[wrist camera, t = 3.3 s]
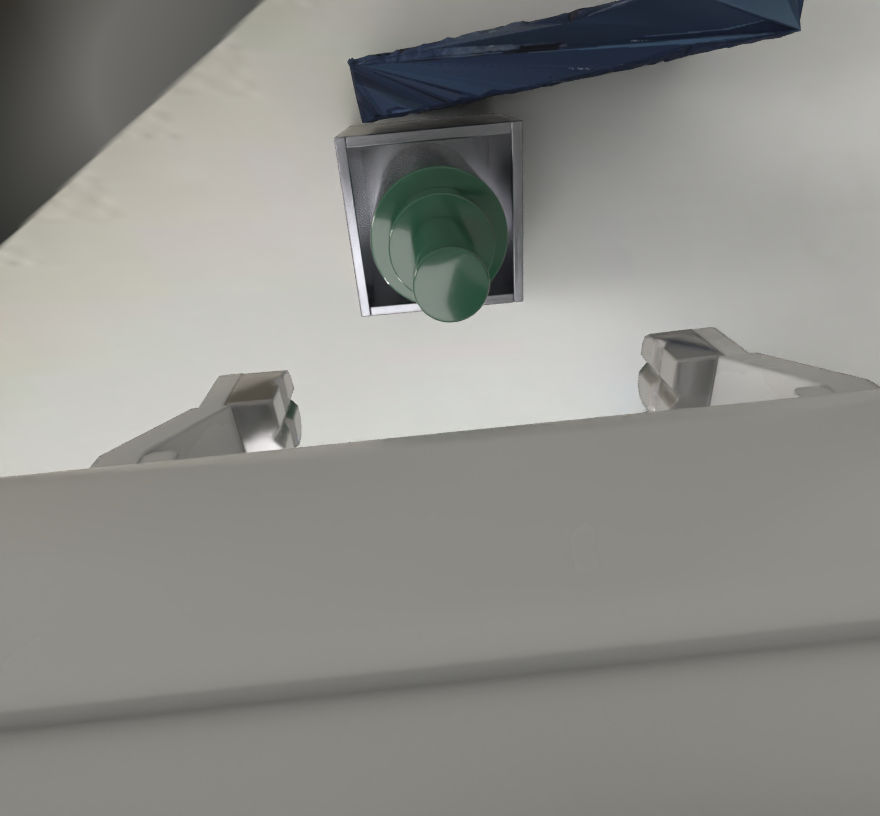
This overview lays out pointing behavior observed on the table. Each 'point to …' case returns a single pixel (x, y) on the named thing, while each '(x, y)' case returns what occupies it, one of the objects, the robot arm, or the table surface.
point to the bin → (482, 146)
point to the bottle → (438, 232)
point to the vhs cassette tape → (560, 51)
